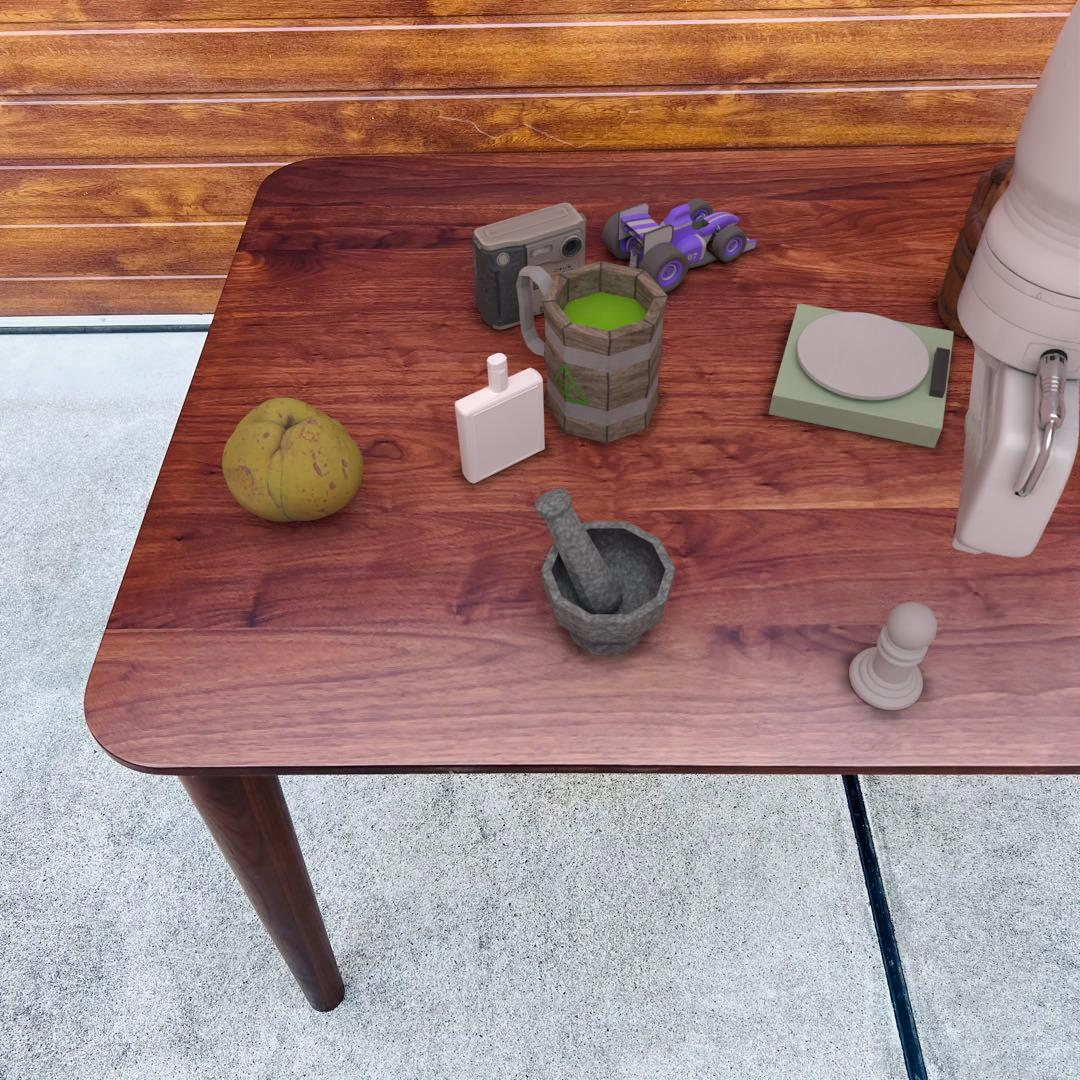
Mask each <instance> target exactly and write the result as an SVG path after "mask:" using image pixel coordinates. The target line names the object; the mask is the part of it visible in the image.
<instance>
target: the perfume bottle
mask: <svg viewBox="0 0 1080 1080" xmlns="http://www.w3.org/2000/svg"><path fill="white" fill-rule="evenodd" d="M486 366H487V367H486V368H487V381H488V386H485V387H484V388H481V389H479V390H477V391H474V392H473V393H471V394H469V395H467V396H464V397H462V398H460V399H458V400H456V401H455V402H454V411H455V419H456V429H457V438H458V445H459V453H460V463H461V469H462V475H463V477H464V478H465V479H466V480H467V481H468V483H470V484H474V485H475V484H477V483H479V482H480V481H483V480H484V479H487V478H488V477H491V476H493V475H495V474H497V473H498V472H501V471H503V470H505V469H508V468H509V467H511V466H514V465H516V464H517V463H519V462H521V461H524V460H526V459H527V458H529V457H532V456H534V455H536V454H538V453H539V452H542V451H544V450H545V449H546V442H545V440H546V439H545V410H544V409H545V408H544V406H545V403H544V379H543V377H542V374H540V372H538V370H536V369H535V368H532V367H528V368H526V369H524V370H521V371H519V372H517V373H514V374H513V375H510V376H509V372H508V369H509V368H508V357H507V356H506V355H505V354H504V353H501V352H497V353H493V354H492V355H489V356H488V357H487V360H486Z"/></svg>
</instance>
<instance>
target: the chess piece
mask: <svg viewBox="0 0 1080 1080" xmlns="http://www.w3.org/2000/svg"><path fill="white" fill-rule="evenodd" d="M937 632H938V622H937V618H936V615H935V614H934V612H933V610H932V609H931V608H930V607H928V606H927V605H925V604H923V603H920V602H917V601H906V602H902V603H899V604H898V605H896V606H895V607H894V608H892V610H891V611H890V613H889V614H888V617H887V619H886V624H885V625H884V626H883V627H882V628H881V630H880V633H879V635H878V636H877V640H876V646H872V647H868V648H865V649H863V650H861V651H860V652H859V653H858V654H857V655H855V656H854V658H853V659H852V660H851V662H850V665H849V669H848V671H849V672H848V677H849V682H850V685H851V687H852V689H853V690H854V692H855V694H856V695H857V696H858V697H859V698H860V699H862V700H863V701H864V702H865V703H867V704H868V705H870V706H871V707H874V708H876V709H880V710H884V711H899V710H900V711H901V710H903V709H907V708H909V707H911V706H912V705H913V704H914V703H916V702H917V701H918V699H919V698H920V697H921V694H922V692H923V687H924V680H923V679H924V678H923V675H922V672H921V670H920V668H919V666H918V665H919V664H921V662H922V661H923V660H924V658H925V655H927V652H928V650H929V645H930V644H931V643H932V642H933V641H934V640H935V637H936V635H937Z"/></svg>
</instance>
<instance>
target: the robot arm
mask: <svg viewBox="0 0 1080 1080" xmlns="http://www.w3.org/2000/svg"><path fill="white" fill-rule="evenodd" d="M1014 155H1015V165H1014V172H1013V176H1012V179H1011V181H1010V184H1009V186H1008V188H1007V189H1006V191H1005V192H1004V194H1003V195H1002V196H1001V197H1000V199H999V200H998V201H997V203H996V204H995V205H994V207H993V209H992V211H991V213H990V215H989V217H988V219H987V222H986V225H985V227H984V230H983V233H982V235H981V238H980V241H979V244H978V246H977V249H976V252H975V255H974V257H973V260H972V263H971V266H970V269H969V271H968V274H967V277H966V280H965V282H964V285H963V288H962V290H961V293H960V296H959V299H958V304H957V312H958V317H959V321H960V323H961V325H962V327H963V329H964V331H965V332H966V333H967V335H968V336H969V339H971V341H972V345H973V346H972V347H973V348H974V355H973V365H972V374H971V382H970V383H971V384H970V393H969V401H968V402H969V403H968V410H967V412H966V415H965V419H964V421H965V422H964V428H963V433H964V436H965V440H964V449H963V458H962V467H961V469H962V470H961V477H960V486H959V487H960V488H959V497H958V504H957V505H958V506H957V514H956V515H957V517H956V521H955V523H954V525H953V533H952V540H951V546H952V548H954V549H955V550H956V551H961V552H965V553H970V554H974V555H979V554H983V553H986V554H990V555H995V556H1000V557H1006V558H1015V559H1019V558H1024V557H1027V556H1029V555H1030V554H1032V553H1033V551H1034V550H1035V548H1036V547H1037V545H1038V543H1039V542H1040V540H1041V537H1042V536H1043V534H1044V531H1045V530H1046V527H1047V526H1048V523H1049V522H1050V519H1051V517H1052V515H1053V514H1054V513H1053V512H1054V511H1055V509H1056V507H1057V504H1058V502H1059V500H1060V498H1061V496H1062V493H1063V492H1064V489H1065V487H1066V485H1067V483H1068V480H1069V477H1070V475H1071V472H1072V469H1073V466H1074V463H1075V460H1076V455H1077V452H1078V446H1079V440H1080V0H1077V1H1076V2H1075V4H1074V6H1073V8H1072V10H1071V11H1070V14H1069V15H1068V17H1067V18H1066V21H1065V23H1064V25H1063V27H1062V29H1061V31H1060V32H1059V35H1058V37H1057V39H1056V41H1055V43H1054V45H1053V48H1052V49H1051V52H1050V54H1049V56H1048V58H1047V61H1046V63H1045V65H1044V68H1043V71H1042V72H1041V75H1040V77H1039V80H1038V82H1037V85H1036V87H1035V90H1034V91H1033V93H1032V97H1031V99H1030V101H1029V105H1028V107H1027V110H1026V113H1025V115H1024V118H1023V121H1022V124H1021V125H1020V129H1019V131H1018V135H1017V138H1016V141H1015V147H1014Z"/></svg>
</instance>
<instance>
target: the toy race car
mask: <svg viewBox="0 0 1080 1080" xmlns="http://www.w3.org/2000/svg"><path fill="white" fill-rule="evenodd" d="M649 208H650V206H649V204H648V203H646V202H642V203H641V202H640V203H639V204H636V205H634V206H631V207H628V208H625V209H621V210H619V211H617V212H615V213H614V214H612V216H610V218H608V220H607V221H606V223H605V225H604V227H603V230H602V233H601V239H602V240H601V241H602V244H603V245H604V246H603V247H605V248H606V249H607V250H608V251H609V252H610V253H611V254H612V255H613V256H614V257H616V259H619V260H623V261H626V260H629V267H632V268H637V269H642V270H645V271H646V272H647V273H648V274H649V275H650V276H651V278H652V279H653V280H654V281H655V282H656V283H657V284H658V286H659V287H660V288H661V289H662V290H663V291H664V292H665V294H666V295H667V294H669V293H671V292H673V291H674V290H676V289H677V288H678V287H679V286H680V285H682V283H683V281H684V280H685V278H686V277H687V274H688V271H689V269H692V268H698V267H701V266H704V265H707V264H710V263H712V262H715V261H718V259H719V260H720V261H721V262H723V263H731V262H733V261H736V259H738V258H739V257H740V256H741V255H742V254H743V253H746V252H749V251H751V250H753V249H754V250H755V249H756V247H757V244H758V240H757V239H755V238H754V239H749V238H748V237H747V234H746V232H745V231H743V230H742V229H741V228H740V227H738V226H737V225H736V224H739V223H740V222H741V218H739V217H738V216H737V215H734V214H733V213H730V212H729V211H714V210H713V207H712V206H711V204H709V203H708V202H707V201H706V200H705V199H703V198H702V197H694V198H692V199H690V200H689V201H687V203H683V204H681V205H678V206H676V207H674V208H672V209H671V210H670V211H669V213H668V215H667V216H666V217H665V218H664V219H663V221H662V222H660V224H659V223H657V222H656V221H655V220H653V217H652V216H651V215H650V214H649ZM709 241H710V242H712V244H711V252H712V254H711V252H709V251H708V250H707V244H708V243H709Z"/></svg>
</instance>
